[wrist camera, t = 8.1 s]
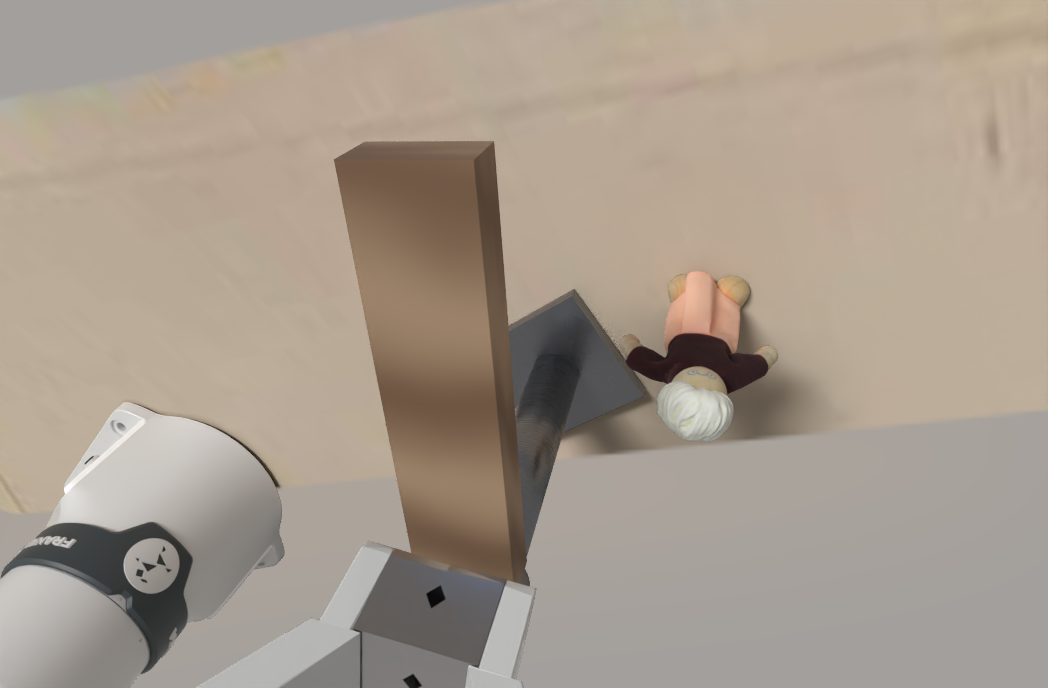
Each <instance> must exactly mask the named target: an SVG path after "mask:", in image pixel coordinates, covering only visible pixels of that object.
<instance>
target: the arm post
mask: <svg viewBox="0 0 1048 688" xmlns="http://www.w3.org/2000/svg"><path fill="white" fill-rule="evenodd" d="M508 328H509V340H510V353H511V366H512V379H513V392H514V404H515V409H516V410H515V417H516V430H517V443H518V456H519V468H520V481H521V494H522V507H523V520H524V533H525V545H526V557H527V554H528V550H529V547H530V543H531V540H532V537H533V533H534V530H535V527H536V523H537V519H538V516H539V513H540V510H541V506H542V503H543V499H544V496H545V493H546V489H547V486H548V482H549V479H550V476H551V472H552V469H553V465H554V462H555V459H556V455H557V452H558V448H559V445H560V442H561V438H562V435H563V432H565V431H567V430H569V429H571V428H574V427H576V426H578V425H580V424H583V423H585V422H587V421H589V420H592V419H594V418H596V417H598V416H601V415H603V414H605V413H607V412H610V411H612V410H614V409H616V408H619V407H621V406H623V405H625V404H627V403H630V402H632V401H634V400H636V399H639V398H641V397H643V396H644V389H645V387H644V386H643V384H642V383H641V382H640V380H639V379H638V377H637V376H636V375H635V373H634V372H633V370H632V369H631V368H629V367H628V366H627V364H626V361H625V359H624V358H623V356H622V355H621V354H620V352H619V351H618V349H617V348H616V347H615V345H614V344H613V342H612V341H611V340H610V338H609V337H608V335H607V334H606V333H605V331H604V330H603V328H602V327H601V326H600V324H599V323H598V321H597V320H596V319H595V317H594V316H593V314H592V313H591V312H590V310H589V309H588V307H587V306H586V305H585V303H584V302H583V300H582V299H581V298H580V296H579V295H578V294H577V292H576V291H575V289H574V290H572V291H570V292H568V293H567V294H565V295H563V296H561V297H559V298H558V299H556V300H554V301H552V302H551V303H549V304H547V305H545V306H543V307H542V308H540V309H538V310H536V311H535V312H533V313H531V314H529V315H527V316H526V317H524V318H522V319H520V320H518V321H517V322H515V323H513V324H511V325H510V326H508Z"/></svg>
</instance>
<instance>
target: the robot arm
mask: <svg viewBox="0 0 1048 688" xmlns="http://www.w3.org/2000/svg"><path fill="white" fill-rule="evenodd" d="M64 491H65V495H64V496H63V498H62V499H61V500H60V502H59V503H58V505H57V507H56V509H55V511H54V513H53V514H52V516H51V518H50V520H49V523H48V525H47V527H46V529H45V530H44V531H43V532H41V533H40V534H39V535H38V536H37V537H36V538H35V539H34V540H33V541H30V542H29V543H27V544H26V545H25V546H24V547H23V548H22V549H21V550H20V551H19V552H18V553H17V554H16V555H15V556H14V558H13V560H12V561H11V562H10V563H9V564H8V565H7V566H6V567H5V568H4V570H3V572H2V575H1V579H0V688H130V687H131V685H132V684H133V683H134V681H135V680H136V679H137V677H138V676H139V675H140V674H143V673H145V672H147V671H149V670H150V669H151V668H152V667H153V666H154V665H155V664H156V663H157V662H158V660H159V659H160V658H162V657H163V656H164V655H165V654H166V653H167V652H168V651H169V649H170V648H171V646H172V645H173V644H174V642H175V640H176V638H177V637H178V635H179V634H180V633H181V631H182V630H183V629H184V627H185V626H186V623H188V622H193V621H194V622H196V621H201V620H203V619H205V618H207V619H211V618H212V617H214V616H215V615H216V614H217V613H218V612H219V611H220V610H221V608H222V607H223V606H224V605H225V604H226V602H227V601H228V600H229V599H230V598H231V596H232V595H233V594H234V593H235V592H236V590H237V589H238V588H239V587H240V585H241V584H242V583H243V582H244V581H245V579H246V578H247V577H248V576H249V574H250V573H251V572H252V571H253V570H254V569H258V568H263V567H269V566H274V565H276V564H277V563H278V562H279V561H280V560H281V559H282V558H283V556H284V547H283V543H282V541H281V538H280V535H279V527H280V523H281V517H282V507H281V501H280V497H279V494H278V491H277V489H276V487H275V485H274V483H273V481H272V479H271V478H270V476H269V475H268V473H267V472H266V470H265V469H264V468H263V466H262V465H261V464H260V463H259V462H258V461H257V459H256V458H255V457H254V456H253V455H252V454H251V453H250V452H248V451H247V450H246V449H245V448H244V447H243V446H241V445H240V444H239V443H238V442H236V441H235V440H233V439H232V438H230V437H229V436H227V435H226V434H224V433H222V432H220V431H219V430H217V429H215V428H213V427H211V426H208V425H206V424H203V423H201V422H198V421H194V420H191V419H187V418H182V417H174V416H165V415H160V414H157V413H154V412H152V411H150V410H148V409H146V408H144V407H141V406H139V405H136V404H133V403H130V402H124V403H122V404H120V405H119V406H118V407H117V408H116V409H115V410H114V411H113V413H112V414H111V416H110V417H109V419H108V420H107V422H106V423H105V425H104V426H103V428H102V429H101V431H100V432H99V433H98V435H97V436H96V438H95V439H94V441H93V442H92V444H91V445H90V447H89V448H88V450H87V451H86V453H85V454H84V456H83V457H82V459H81V460H80V462H79V463H78V465H77V466H76V468H75V469H74V471H73V472H72V474H71V475H70V477H69V478H68V480H67V481H66V483H65V485H64ZM535 594H536V588H533V587H530V586H526V585H523V584H519V583H515V582H512V581H508V580H507V579H504V578H500V577H496V576H493V575H489V574H485V573H481V572H478V571H474V570H470V569H466V568H463V567H459V566H455V565H447V564H444V563H441V562H437V561H434V560H431V559H428V558H425V557H421V556H418V555H415V554H412V553H408V552H405V551H402V550H399V549H396V548H392V547H389V546H385V545H382V544H379V543H375V542H371V541H367V542H366V543H365V544H364V545H363V546H362V547H361V549H360V550H359V552H358V554H357V556H356V557H355V559H354V561H353V563H352V564H351V566H350V568H349V570H348V571H347V573H346V575H345V576H344V578H343V580H342V582H341V583H340V585H339V587H338V589H337V590H336V592H335V594H334V596H333V597H332V599H331V601H330V603H329V604H328V606H327V608H326V609H325V611H324V613H323V615H322V616H321V618H320V620H318V619H314V618H310V619H308V620H307V621H305V622H303V623H302V624H300V625H298V626H297V627H295V628H293V629H292V630H290V631H288V632H287V633H285V634H283V635H282V636H280V637H278V638H277V639H275V640H274V641H272V642H270V643H269V644H267V645H265V646H264V647H262V648H261V649H259V650H257V651H255V652H254V653H252V654H250V655H249V656H247V657H245V658H244V659H242V660H240V661H239V662H237V663H235V664H234V665H232V666H230V667H229V668H227V669H225V670H224V671H222V672H221V673H219V674H217V675H216V676H214V677H212V678H211V679H209V680H207V681H206V682H204V683H202V684H201V685H199V686H198V687H196V688H524V686H523V683H522V681H520V680H517V679H516V678H517V674H518V670H519V666H520V662H521V658H522V653H523V649H524V644H525V640H526V635H527V631H528V626H529V622H530V617H531V613H532V608H533V603H534V599H535Z"/></svg>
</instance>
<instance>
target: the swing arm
mask: <svg viewBox="0 0 1048 688" xmlns="http://www.w3.org/2000/svg"><path fill="white" fill-rule="evenodd" d="M334 162H335V167H336V172H337V177H338V182H339V187H340V192H341V197H342V203H343V208H344V213H345V218H346V223H347V228H348V233H349V238H350V243H351V248H352V253H353V258H354V263H355V269H356V274H357V279H358V284H359V289H360V294H361V299H362V304H363V309H364V314H365V319H366V324H367V329H368V335H369V340H370V345H371V350H372V355H373V360H374V365H375V370H376V375H377V380H378V385H379V390H380V395H381V400H382V406H383V411H384V416H385V421H386V426H387V431H388V436H389V441H390V446H391V451H392V456H393V461H394V466H395V472H396V477H397V482H398V487H399V492H400V496H401V502H402V507H403V512H404V517H405V522H406V527H407V532H408V537H409V542H410V547H411V553H412V554H415V555H418V556H421V557H425V558H428V559H431V560H434V561H437V562H441V563H444V564H447V565H455V566H459V567H463V568H466V569H470V570H474V571H478V572H481V573H485V574H489V575H493V576H496V577H500V578H504V579H507V580H508V581H512V582H515V583H519V584H523V585H526V586H530V581H529V577H528V574H527V573H526V570H525V566H526V562H527V558H526V545H525V533H524V520H523V507H522V494H521V481H520V468H519V456H518V443H517V430H516V417H515V404H514V392H513V379H512V366H511V353H510V340H509V328H508V315H507V302H506V289H505V276H504V264H503V251H502V238H501V225H500V212H499V200H498V187H497V174H496V161H495V148H494V141H444V142H364V143H362V144H360V145H358V146H357V147H355V148H353V149H352V150H350V151H348V152H346V153H345V154H343V155H341V156H339V157H338V158H336V159H334Z"/></svg>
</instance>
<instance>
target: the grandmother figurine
mask: <svg viewBox="0 0 1048 688" xmlns="http://www.w3.org/2000/svg"><path fill="white" fill-rule="evenodd" d="M668 291H669V297H670V302H671V304H670V307H669V311H668V314H667V319H666V323H665V336H664V339H665V341H664V342H665V348H666V351H667V356H666V357H665V358H664V357H662V356H661V355H659V354H658V353H656V352H655V351H653V350H651V349H648V348H646V347H644V346H643V345H642V344H640V342H639V340H638V339H637V337H636V336H634V335H631V334H628V335H625V336H624V337H623V338H622V339H621V340H620V348H621V349H622V351H623V352H624V353H625V356H626V357H627V360H626V364H627V366H628V367H629V368H631V369H633V370H635V371H637V372H639V373H641V374H642V375H644V376H646V377H648V378H650V379H652V380H655V381H659V382H665V383H667V385H666V386H664V387H663V388H662V390H661V391H660V392H659V394H658V397H657V406H658V411H656V412H657V413H658V414H659V416H660V417H661V418H662V420H663V422H664V423H665V425H666V426H667V427H668V428H670V430H672V431H673V432H674V433H676V434H677V435H678V436H680V437H682V438H684V439H685V440H688V441H703V442H711V441H714V440H716V439H717V438H718V437H719V436H721V435H722V433H724V432H725V431H726V430H727V429H728V427H729V426H730V423H731V421H732V417H733V412H734V410H733V403H732V402H731V400H730V399H729V398H728V396H727V394H729V393H731V392H733V391H736V390H738V389H740V388H742V387H744V386H746V385H748V384H750V383H752V382H753V381H755V380H757V379H759V378H761V377H763V376H764V375H765V374H766V373H767V371H768V369H769V368H770V367H771V365H773V364H774V363H775V362H776V360H777V358H778V354H777V351H776V349H775V348H773V347H771V346H763V347H761V348H760V349H759V350H758V351H757V352H755V353H754V354H752V355H750V354H739V353H735V352H736V350H737V346H738V341H739V328H740V309H741V308H742V306H743V305H744V303H745V302H746V300H747V299H748V297H749V294H750V287H749V285H748V283H747V282H746V281H745V280H743V279H741V278H738V277H734V276H727V277H724V278H722V279H720V280H719V281H718V282H717V283H715V281H714V279H713V278H712V277H711V276H710V275H708V274H706V273H704V272H699V271H695V272H690V273H689V274H688V275H679V276H677V277H675V278H674V279H672V281H671V282H670V284H669V287H668Z"/></svg>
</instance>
